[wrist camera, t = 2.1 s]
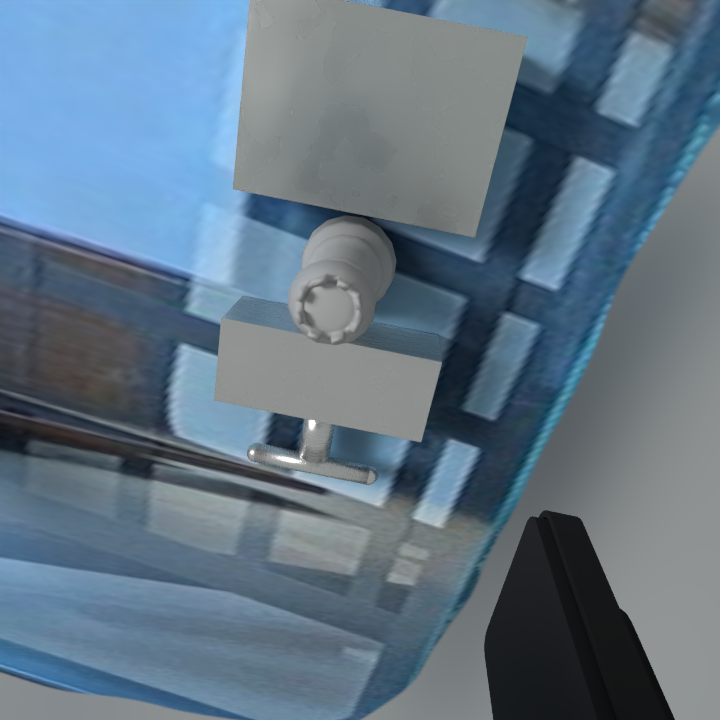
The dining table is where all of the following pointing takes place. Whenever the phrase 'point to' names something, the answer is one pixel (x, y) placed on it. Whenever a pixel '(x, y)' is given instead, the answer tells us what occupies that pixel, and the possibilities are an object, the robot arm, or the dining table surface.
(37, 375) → the dining table surface
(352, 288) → the rook chess piece
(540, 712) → the robot arm
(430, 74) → the bench vise
